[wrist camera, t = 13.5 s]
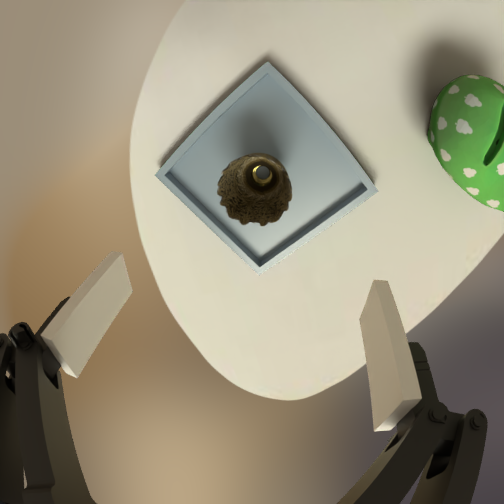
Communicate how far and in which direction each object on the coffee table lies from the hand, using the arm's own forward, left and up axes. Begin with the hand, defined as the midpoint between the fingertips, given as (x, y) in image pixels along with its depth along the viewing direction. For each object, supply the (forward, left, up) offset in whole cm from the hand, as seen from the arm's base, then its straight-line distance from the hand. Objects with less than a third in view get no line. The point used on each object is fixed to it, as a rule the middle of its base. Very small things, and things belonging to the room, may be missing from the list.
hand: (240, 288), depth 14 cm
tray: (+1, 0, -23) cm, 23 cm away
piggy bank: (-25, +12, -24) cm, 36 cm away
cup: (+1, 0, -23) cm, 23 cm away
